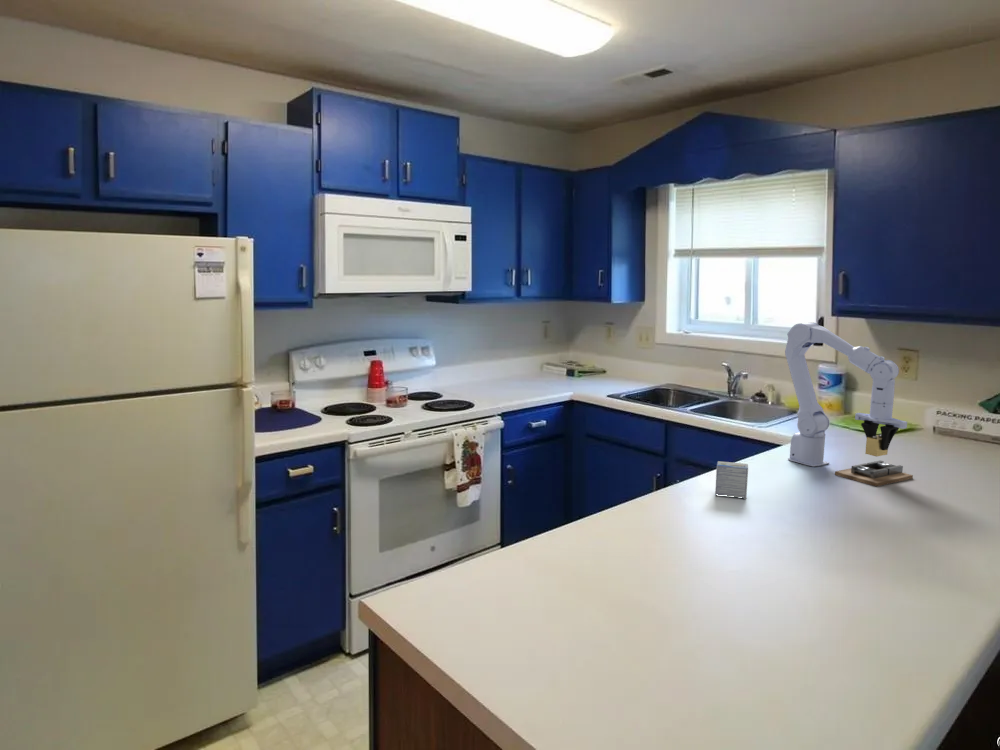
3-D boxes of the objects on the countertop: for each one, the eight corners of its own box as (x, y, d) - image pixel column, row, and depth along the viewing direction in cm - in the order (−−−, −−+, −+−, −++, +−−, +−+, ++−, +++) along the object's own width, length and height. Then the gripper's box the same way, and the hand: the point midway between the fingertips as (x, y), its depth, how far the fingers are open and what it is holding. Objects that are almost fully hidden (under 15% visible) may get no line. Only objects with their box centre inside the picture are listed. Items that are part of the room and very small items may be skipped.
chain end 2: (866, 469, 205) (866, 463, 204) (879, 466, 208) (880, 460, 207) (888, 475, 199) (889, 468, 198) (902, 472, 202) (902, 466, 201)
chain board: (834, 474, 202) (834, 471, 202) (870, 467, 211) (870, 464, 210) (876, 486, 191) (877, 483, 191) (912, 478, 199) (912, 475, 199)
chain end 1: (851, 472, 201) (851, 466, 201) (865, 469, 204) (865, 463, 204) (873, 478, 195) (874, 472, 195) (887, 475, 198) (888, 469, 198)
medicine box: (746, 495, 183) (748, 463, 182) (746, 500, 179) (748, 467, 177) (715, 491, 185) (717, 460, 184) (714, 496, 181) (716, 464, 180)
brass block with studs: (865, 453, 201) (866, 435, 200) (875, 451, 203) (877, 433, 202) (876, 456, 198) (878, 437, 197) (887, 454, 200) (888, 435, 199)
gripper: (850, 399, 203) (846, 444, 205) (898, 407, 190) (893, 455, 192) (865, 397, 206) (861, 441, 208) (913, 405, 193) (908, 452, 195)
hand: (877, 448), depth 200 cm, fingers closed on brass block with studs, 3 cm apart
